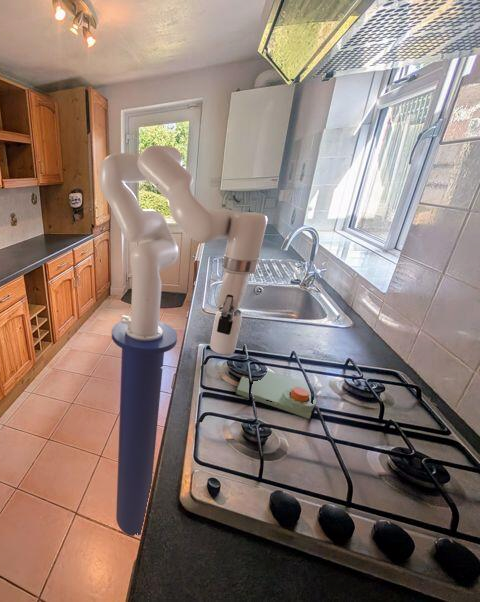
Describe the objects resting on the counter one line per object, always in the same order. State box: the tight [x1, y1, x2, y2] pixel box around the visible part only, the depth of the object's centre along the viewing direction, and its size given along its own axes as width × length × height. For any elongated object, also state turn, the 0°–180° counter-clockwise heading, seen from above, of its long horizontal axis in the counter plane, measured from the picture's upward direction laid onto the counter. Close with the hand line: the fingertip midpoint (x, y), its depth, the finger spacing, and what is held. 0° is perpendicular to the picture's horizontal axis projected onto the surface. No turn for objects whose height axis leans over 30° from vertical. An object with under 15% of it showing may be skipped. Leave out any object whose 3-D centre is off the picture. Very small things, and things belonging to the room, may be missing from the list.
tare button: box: [291, 387, 309, 402], centre depth 64 cm, size 3×3×2 cm
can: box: [209, 306, 243, 356], centre depth 82 cm, size 6×6×12 cm
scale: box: [235, 370, 317, 420], centre depth 70 cm, size 14×12×3 cm
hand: (226, 327), depth 82 cm, fingers closed on can, 6 cm apart
